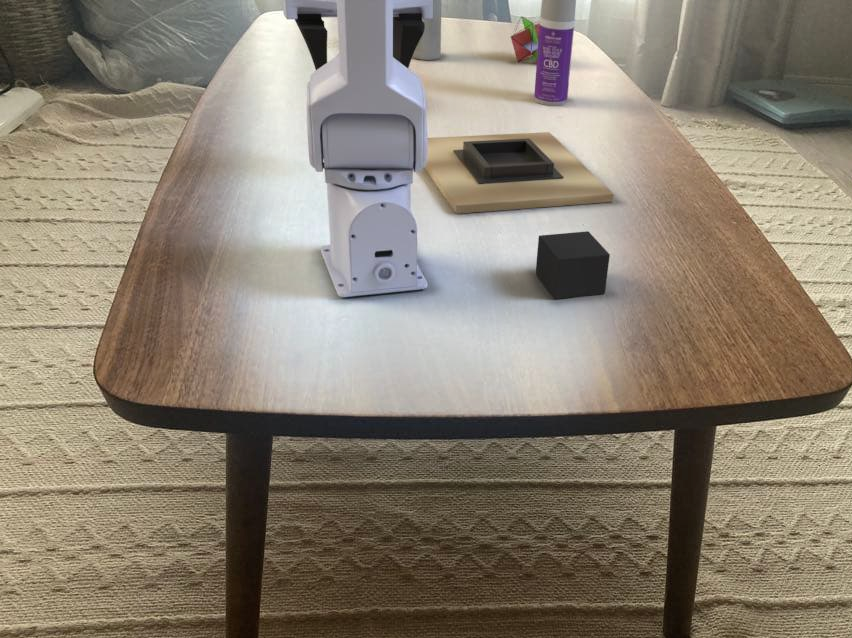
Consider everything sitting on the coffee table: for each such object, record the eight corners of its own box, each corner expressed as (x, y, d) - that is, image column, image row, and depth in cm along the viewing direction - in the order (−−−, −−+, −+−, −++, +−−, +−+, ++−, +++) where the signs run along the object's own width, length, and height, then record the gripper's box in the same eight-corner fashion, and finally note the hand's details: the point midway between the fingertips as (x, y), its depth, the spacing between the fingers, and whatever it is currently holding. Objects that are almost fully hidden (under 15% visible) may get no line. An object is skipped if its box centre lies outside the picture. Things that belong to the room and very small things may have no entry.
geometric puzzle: (511, 55, 141) (543, 9, 139) (492, 43, 146) (522, -2, 144) (542, 81, 146) (573, 38, 144) (523, 69, 151) (552, 26, 149)
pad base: (612, 202, 103) (615, 180, 101) (455, 214, 97) (456, 191, 96) (548, 139, 118) (550, 119, 116) (409, 146, 112) (409, 126, 111)
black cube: (605, 294, 85) (610, 254, 83) (554, 299, 84) (558, 259, 81) (584, 269, 89) (588, 230, 87) (535, 274, 87) (538, 235, 85)
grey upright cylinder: (406, 57, 143) (406, -15, 137) (418, 50, 147) (418, -20, 141) (433, 62, 142) (434, -10, 136) (444, 55, 146) (446, -16, 140)
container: (538, 106, 129) (547, -11, 120) (530, 95, 132) (538, -19, 124) (571, 105, 130) (582, -10, 121) (561, 95, 134) (572, -18, 125)
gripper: (420, -59, 94) (419, 77, 102) (273, -63, 90) (284, 81, 97) (439, -46, 89) (437, 97, 97) (284, -49, 84) (295, 102, 92)
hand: (361, 90), depth 97 cm, fingers open, 7 cm apart
